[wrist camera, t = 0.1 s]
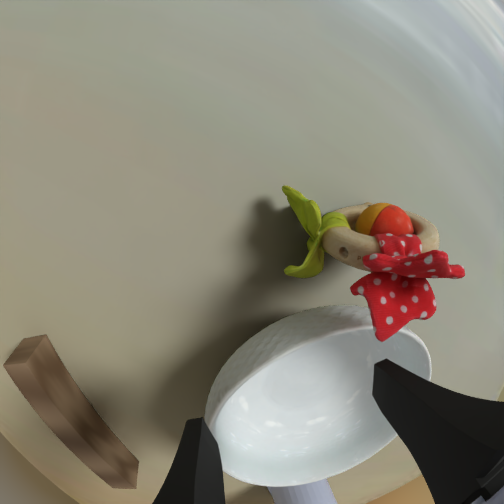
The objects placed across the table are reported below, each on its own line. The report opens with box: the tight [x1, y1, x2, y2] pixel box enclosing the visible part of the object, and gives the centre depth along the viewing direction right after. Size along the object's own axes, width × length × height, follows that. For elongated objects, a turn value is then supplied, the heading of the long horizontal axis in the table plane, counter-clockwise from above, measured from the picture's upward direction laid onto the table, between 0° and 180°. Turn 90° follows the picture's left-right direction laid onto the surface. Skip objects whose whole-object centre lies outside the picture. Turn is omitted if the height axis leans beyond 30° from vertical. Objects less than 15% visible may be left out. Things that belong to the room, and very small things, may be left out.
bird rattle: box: [282, 186, 465, 342], centre depth 14 cm, size 6×11×9 cm
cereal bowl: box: [204, 305, 431, 487], centre depth 19 cm, size 17×17×7 cm
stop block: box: [3, 335, 139, 489], centre depth 18 cm, size 18×3×4 cm, turn 12°
